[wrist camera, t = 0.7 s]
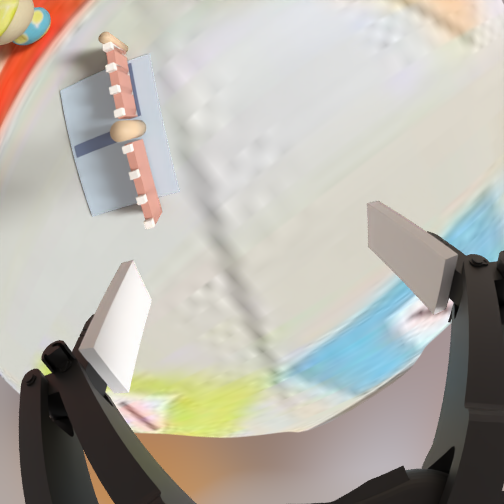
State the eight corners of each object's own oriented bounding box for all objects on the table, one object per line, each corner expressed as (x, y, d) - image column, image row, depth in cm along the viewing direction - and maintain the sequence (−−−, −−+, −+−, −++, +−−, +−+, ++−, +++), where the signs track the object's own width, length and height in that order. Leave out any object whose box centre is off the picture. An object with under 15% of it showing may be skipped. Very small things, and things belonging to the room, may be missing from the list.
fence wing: (136, 141, 32) (121, 145, 26) (142, 138, 32) (129, 142, 26) (155, 213, 37) (145, 229, 31) (162, 211, 37) (153, 227, 31)
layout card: (61, 91, 27) (59, 90, 26) (149, 53, 27) (149, 53, 27) (93, 215, 36) (92, 216, 36) (179, 191, 36) (179, 192, 36)
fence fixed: (148, 134, 32) (132, 138, 26) (132, 139, 32) (112, 145, 26) (130, 42, 26) (112, 27, 19) (114, 48, 26) (93, 35, 19)
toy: (67, -1, 19) (16, -31, 6) (57, 47, 23) (-4, 30, 10) (29, 15, 18) (-25, -3, 5) (20, 61, 22) (-42, 56, 9)
